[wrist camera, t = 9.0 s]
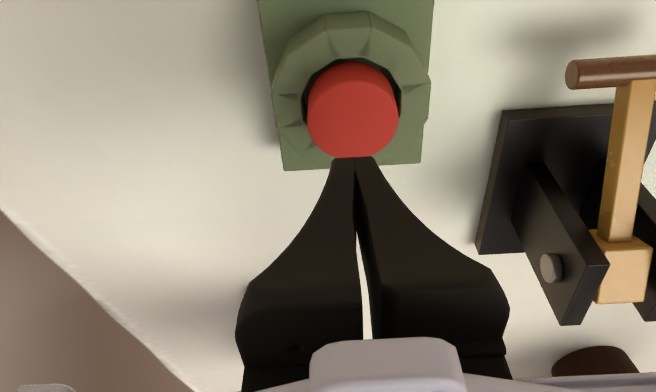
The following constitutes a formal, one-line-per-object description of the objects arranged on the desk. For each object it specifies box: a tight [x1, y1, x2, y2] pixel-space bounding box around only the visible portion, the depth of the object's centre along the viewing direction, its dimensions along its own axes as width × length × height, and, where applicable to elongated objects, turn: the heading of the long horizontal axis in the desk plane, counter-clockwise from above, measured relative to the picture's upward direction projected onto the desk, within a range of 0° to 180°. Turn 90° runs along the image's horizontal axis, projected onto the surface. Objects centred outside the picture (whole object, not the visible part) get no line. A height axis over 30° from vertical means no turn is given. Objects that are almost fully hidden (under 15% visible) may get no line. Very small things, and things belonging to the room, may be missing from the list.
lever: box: [565, 55, 656, 304], centre depth 20 cm, size 11×6×2 cm, turn 2°
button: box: [307, 62, 399, 158], centre depth 18 cm, size 4×4×2 cm
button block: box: [257, 0, 434, 171], centre depth 20 cm, size 9×7×4 cm
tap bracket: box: [475, 101, 656, 326], centre depth 23 cm, size 10×8×8 cm
